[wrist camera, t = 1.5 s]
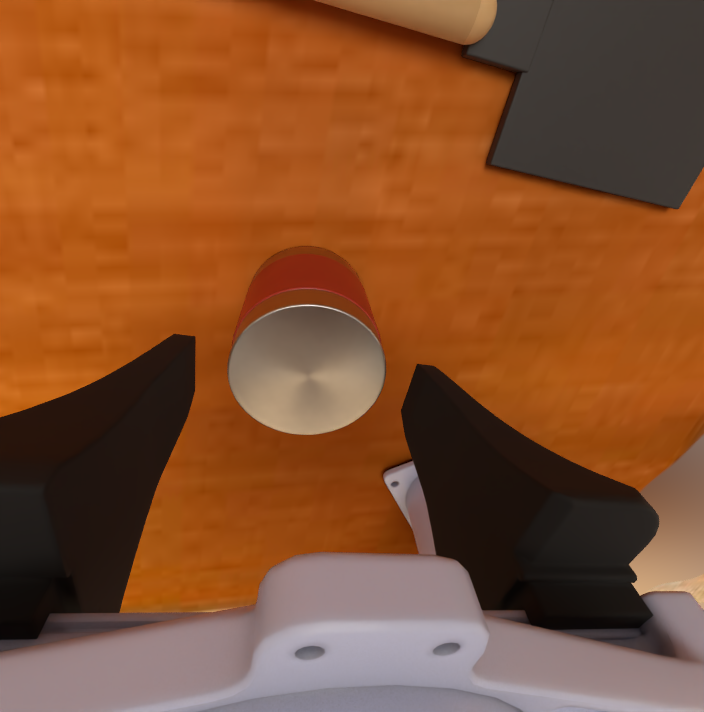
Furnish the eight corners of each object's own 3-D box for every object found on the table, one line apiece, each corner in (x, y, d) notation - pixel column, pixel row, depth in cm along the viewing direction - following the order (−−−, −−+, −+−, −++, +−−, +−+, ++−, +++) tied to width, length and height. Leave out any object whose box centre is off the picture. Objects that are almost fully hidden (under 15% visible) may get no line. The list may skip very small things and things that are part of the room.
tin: (381, 325, 19) (409, 403, 14) (283, 367, 20) (276, 455, 15) (336, 223, 16) (350, 273, 11) (224, 275, 17) (190, 345, 12)
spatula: (55, 61, 13) (26, 55, 11) (-7, -377, 9) (-64, -467, 7) (669, 207, 17) (700, 215, 16) (811, -34, 13) (868, -51, 12)
